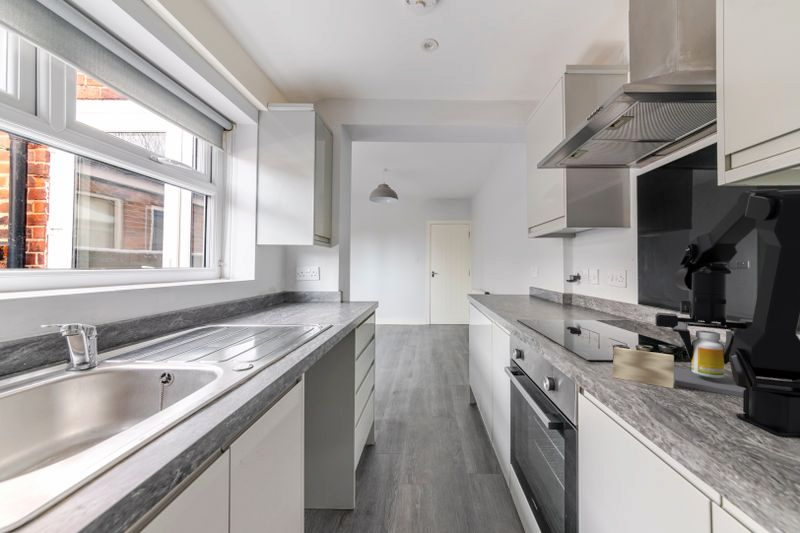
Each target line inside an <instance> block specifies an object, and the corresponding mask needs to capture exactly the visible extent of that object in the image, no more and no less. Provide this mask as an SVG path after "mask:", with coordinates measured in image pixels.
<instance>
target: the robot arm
mask: <svg viewBox="0 0 800 533" xmlns="http://www.w3.org/2000/svg"><path fill="white" fill-rule="evenodd" d="M754 230H756V231H757V232H758V234H759V235H760V237H761V238H762V239H763V241H764V242H765V243H766V244H765V245H766V247H765V252H764V257H763V258H764V259H763V263H762V268H761V275H760V280H759V286H758V290H757V291H758V292H757V296H756V301H755V307H754V312H753V317H752V319H745V318H740V319H739V321H731V320H730V321H729V320H727V286H728V285H727V284H728V283H727V282H728V280H727V279H728V277H727V276H728V275H731V274H732V270H730V268H729V267H727V265H728V264H729V263H731V261H732V260H733V259H734V258H735V256H736V255H737V254H738V248H737V245H738V244H739V243H740V242H741V241H742V240H743V239H744V238H746V237H748V235H749V234H750V233H752V231H754ZM678 263H679V264H678V267H679V268H680V269H679V270H678V271H676V272H675V274H674V276H673V279H672V280H673V283H674V285H675V286H676V287H677V288H678V289H681V290H685V291H688V292H689V291H691V301H690V300H680V302H679V313H680V315H687V316H689V317H679V316H678V315H677V314H676V313H668V312H667V313H666V312H657V313H656V314H655V316H654V317H655V320H654V321H655V322H654V323H655V326H656V327H660V328H670V329H671V330H672V332H674V333H675V332H676V333H678V335H679V337H680V338H681V340H682V342H683V345H684V347H685V350H686V353H687V356H688V358H689V360H692V341H691V340H692V339H691V332H690V330H689V327H697V328H709V329H719V330H726V331H725V342H724V343H725V344H724V365H728V363H729V364H730V370H731V374H732V377H733V378H734V382H736V385H737V386H739V387H743V388H746V389H745V390H744V391H743V397H742V399H743V400H742V403H743V404H742V408H743V409H742V411H743V413H736V414H735V416H736V418H739V419H740V420H743V421H745V422H747V423H749V424H752V425H754V426H756V427H758V428H761V429H763V430H765V431H768V432H770V433H771V434H773V435H777V436H780V437H781V436H785V437H787V436H788V437H789V436H791V437H792V436H795V437H797V436H798V437H799V436H800V338H799V336H798V335H797V333H798V326H799V322H800V189H798V188H797V189H781V190H780V189H779V188H771V189H751V190H747V191H745V192H744V191H743V192H741V193H740V195H739V196H738V198H737V201H736V203H735V204H734V206H732V208H731V209H730V210H729V211H728V212H727V213H726V214H725V215H724V216H723V217H722V218H721V220H720V221H719V222H718V223H716V225H714V227H713V228H712V229H711V230H710V231H708V232H705V233H702V234H699V235H696V236H695V237H694V238H693V239H691V240H690V241H689V242H688V244H686V246H685V248H684V250H683V252H682V253H681V256H680V258H679V259H678Z"/></svg>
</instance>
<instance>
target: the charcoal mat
mask: <svg viewBox="0 0 800 533" xmlns="http://www.w3.org/2000/svg"><path fill="white" fill-rule="evenodd" d="M673 384H674V386H678V387H683V388H689V387H690V389H694V388H695V390H701V391H706V392H711V393H716V392H717V393H716V394H722V395H728V396H734V397H739V398H743V391H744V390H745V389H746V388H743V387H739V386H737V385H736V382H734V378H733V375H732V376H731V375H725V374H724V377H722V378H712V377H706V376H702V375H698V374H695V373H693V372H692V369H687V368H679V367H674V379H673Z"/></svg>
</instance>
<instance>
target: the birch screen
mask: <svg viewBox="0 0 800 533" xmlns="http://www.w3.org/2000/svg"><path fill="white" fill-rule="evenodd" d="M612 357H613V362H612V364H613V365H612V366H613V367H612V368H613V369H612V375H613V376H612V377H613V378H616V379H620V380H621V379H622V380H627V381H632V382H637V383H643V384H646V385H648V384H649V385H653V386H658V387H663V388H664V387H665V388H668V389H669V388H670V389H674V380H673V379H674V368H675V367H674V366H675V363H674V362H675V356H674V354H667V353H660V352H651V351H646V350H640V349H639V350H638V349H630V348H623V347H617V346H614V347H613V356H612Z"/></svg>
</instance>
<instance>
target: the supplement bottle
mask: <svg viewBox="0 0 800 533" xmlns="http://www.w3.org/2000/svg"><path fill="white" fill-rule="evenodd" d="M695 338H697V339H694V340H692V341H691V346H692V359H691V369H690V370H692V372H693V373H695V374H698V375H702V376H706V377H712V378H722V377H724V375H725V364H724V348H725V344H723V343H722V342H721V341H720V340H721V333H719V332H716V331H710V330H709V331H708V330H695ZM719 341H720V342H719Z"/></svg>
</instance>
